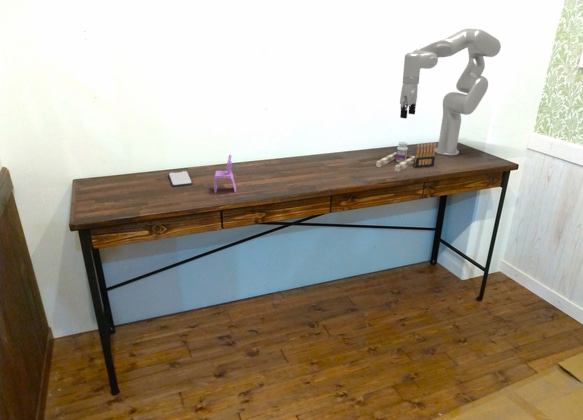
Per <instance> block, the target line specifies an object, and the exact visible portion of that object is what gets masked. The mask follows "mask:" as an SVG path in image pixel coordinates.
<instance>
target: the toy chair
mask: <svg viewBox="0 0 583 420" xmlns="http://www.w3.org/2000/svg"><path fill="white" fill-rule="evenodd" d="M232 157H233V156H232V155H231V154H229V155H228V159H227V163H226V168H225V170H216V171H215V174H214V177H213V189H214V193H215V194H216V193H217V190H218V186H217V182H216V179H223V178H225V179H230V180H231V182H232V187H233V190H234V193H236V191H237V185H236V183H235V179H234V178H235V177H234V175H233V172H232V164H233V163H232Z"/></svg>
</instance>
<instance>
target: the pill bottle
mask: <svg viewBox="0 0 583 420" xmlns="http://www.w3.org/2000/svg"><path fill="white" fill-rule="evenodd" d="M408 152H409V147H408V142H406V141H400V142H399V143H398V146H397V148H396V159H395V161H396V162H397V163H398V164H399V163H401V162H403V161H405V160H407V155H408Z"/></svg>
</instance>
